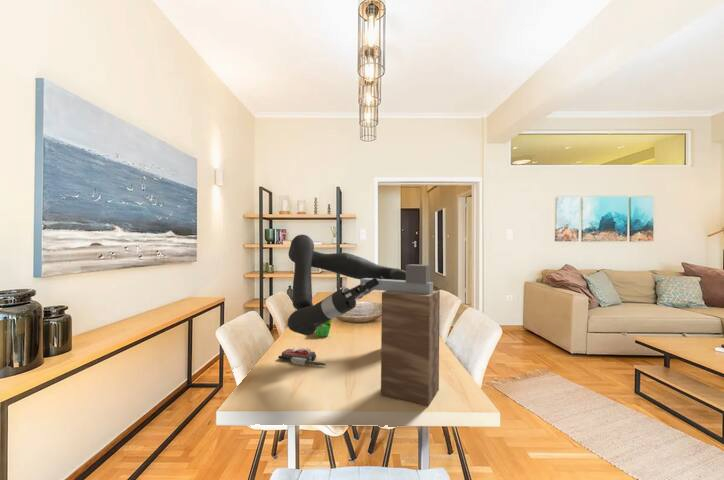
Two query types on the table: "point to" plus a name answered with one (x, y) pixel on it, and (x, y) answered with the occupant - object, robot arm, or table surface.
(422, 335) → the walnut stand
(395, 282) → the gray l-shaped block
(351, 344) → the table surface
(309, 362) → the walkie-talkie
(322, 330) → the green potted plant
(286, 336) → the table surface
